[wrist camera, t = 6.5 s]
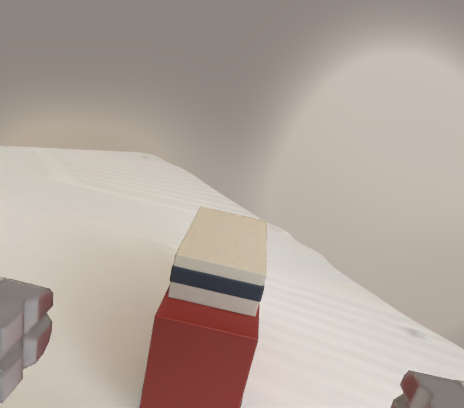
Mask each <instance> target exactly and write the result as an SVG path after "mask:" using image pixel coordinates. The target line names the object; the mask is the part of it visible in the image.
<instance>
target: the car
mask: <svg viewBox="0 0 464 408" xmlns="http://www.w3.org/2000/svg"><path fill="white" fill-rule="evenodd" d="M266 232H267V222H266V221H263V220H259V219H254V218H250V217H245V216H241V215H236V214H232V213H228V212H223V211H219V210H214V209H210V208H205V207H200V209H199V211H198V213H197V215H196V216H195V218H194V220H193V222H192V224H191V226H190V228H189V230H188V232H187V233H186V235H185V237H184V239H183V241H182V243H181V245H180V247H179V249H178V251H177V252H176V254H175V259H174V264H173V266H172V269H171V275H170V281H171V282H170V285H169V288H168V290H167V292H166V294H165V296H164V298H163V300H162V302H161V304H160V306H159V308H158V311H157V313H156V315H155V319H154V325H153V331H152V337H151V343H150V349H149V355H148V361H147V367H146V373H145V379H144V384H143V389H142V397H141V403H140V408H240V407H241V402H242V397H243V393H244V389H245V386H246V382H247V378H248V375H249V371H250V367H251V364H252V360H253V357H254V353H255V349H256V346H257V342H258V328H259V302H260V301H261V298H262V294H263V291H264V282H265V278H266Z"/></svg>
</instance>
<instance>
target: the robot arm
mask: <svg viewBox="0 0 464 408" xmlns="http://www.w3.org/2000/svg"><path fill="white" fill-rule="evenodd" d="M52 306H53V292H52V291H51V290H50V289H49V288H45V287H41V286H37V285H33V284H29V283H25V282H21V281H17V280H13V279H7V278H4V277H0V403H3V402H4V400H5V399H6V398H7V397H8V396H9V394H10V393H11V392H12V391H13V390H14V388H15V387H16V386H17V385H18V384H19V383H20V381H21V380H22V379H23V369H24V368H27V367H29V366H31V365H33V364H35V363H36V362H37V361H38V359H39V358H40V357H41V356H42V354H43V353H44V351H45V349H46V347H47V345H48V342H49V339H50V335H51V331H52V321H51V319H50V318H49V316H48V314H47V313H46V312H47V311H48V310H49V309H50V308H51V307H52ZM400 385H401V388H402V390H403V393H404V394H402V395H401V396H399V397H398V398H396V399H394V400H393V403H392V405H391V408H464V381H459V380H451V379H446V378H441V377H437V376H432V375H428V374H423V373H419V372H414V371H408V372H407V373H406V374H405V375H404V377H403V379H402V381H401V384H400Z"/></svg>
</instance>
